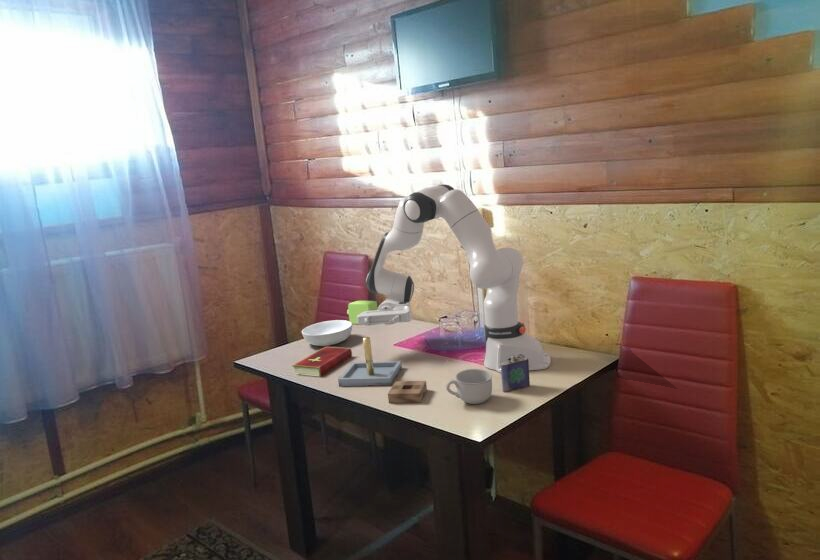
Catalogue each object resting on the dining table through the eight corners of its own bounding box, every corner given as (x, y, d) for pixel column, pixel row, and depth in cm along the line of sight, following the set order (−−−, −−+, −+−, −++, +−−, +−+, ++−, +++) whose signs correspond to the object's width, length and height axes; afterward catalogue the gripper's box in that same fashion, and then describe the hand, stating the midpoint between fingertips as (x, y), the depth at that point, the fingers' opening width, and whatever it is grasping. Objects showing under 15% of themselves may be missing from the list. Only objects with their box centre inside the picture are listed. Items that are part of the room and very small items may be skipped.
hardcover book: (352, 357, 236) (351, 347, 235) (320, 378, 218) (319, 366, 217) (326, 355, 242) (325, 345, 241) (293, 375, 224) (292, 364, 223)
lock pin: (375, 372, 213) (370, 336, 210) (373, 375, 211) (368, 339, 208) (368, 372, 214) (364, 337, 211) (366, 375, 211) (361, 339, 209)
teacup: (490, 391, 189) (488, 366, 188) (496, 405, 179) (494, 379, 177) (445, 396, 189) (442, 372, 187) (449, 411, 178) (446, 385, 177)
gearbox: (388, 320, 284) (387, 299, 282) (378, 325, 275) (376, 304, 274) (355, 318, 292) (353, 298, 290) (344, 323, 283) (342, 303, 282)
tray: (401, 367, 218) (401, 361, 217) (390, 385, 203) (389, 378, 202) (353, 369, 222) (352, 362, 222) (339, 386, 207) (338, 379, 206)
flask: (505, 393, 187) (502, 359, 184) (500, 390, 189) (497, 357, 187) (531, 386, 189) (529, 353, 187) (526, 383, 192) (524, 350, 190)
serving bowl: (333, 332, 272) (331, 317, 271) (364, 339, 257) (362, 323, 256) (294, 346, 258) (291, 330, 256) (324, 354, 243) (321, 337, 242)
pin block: (427, 389, 196) (426, 380, 195) (420, 402, 186) (419, 393, 186) (396, 390, 198) (395, 381, 198) (388, 402, 189) (387, 393, 188)
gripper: (361, 306, 235) (350, 316, 222) (413, 302, 230) (405, 312, 217) (364, 322, 236) (353, 333, 223) (415, 318, 231) (407, 329, 218)
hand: (379, 322), depth 220 cm, fingers open, 8 cm apart
